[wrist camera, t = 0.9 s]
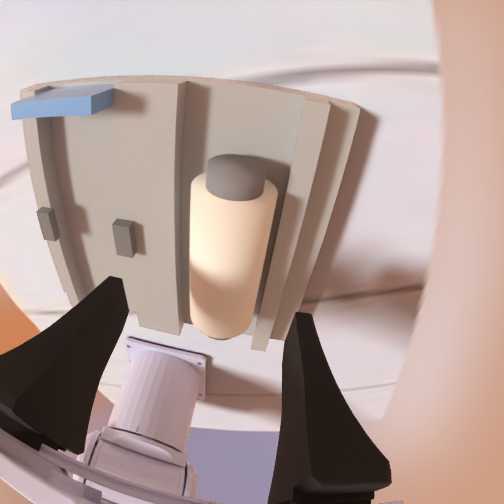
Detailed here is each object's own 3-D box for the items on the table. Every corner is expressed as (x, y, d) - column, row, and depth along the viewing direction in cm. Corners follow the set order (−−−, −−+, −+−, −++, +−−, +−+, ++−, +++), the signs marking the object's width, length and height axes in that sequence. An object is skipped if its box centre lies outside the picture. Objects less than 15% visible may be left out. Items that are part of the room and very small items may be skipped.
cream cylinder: (248, 302, 20) (252, 349, 17) (192, 300, 19) (188, 347, 17) (275, 153, 14) (288, 189, 11) (196, 146, 13) (186, 181, 10)
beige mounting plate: (288, 324, 23) (285, 376, 19) (72, 279, 23) (47, 318, 19) (353, 103, 13) (379, 125, 9) (36, 84, 13) (-17, 105, 9)
